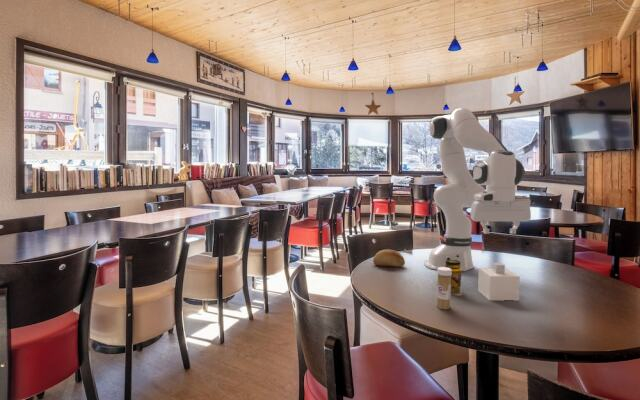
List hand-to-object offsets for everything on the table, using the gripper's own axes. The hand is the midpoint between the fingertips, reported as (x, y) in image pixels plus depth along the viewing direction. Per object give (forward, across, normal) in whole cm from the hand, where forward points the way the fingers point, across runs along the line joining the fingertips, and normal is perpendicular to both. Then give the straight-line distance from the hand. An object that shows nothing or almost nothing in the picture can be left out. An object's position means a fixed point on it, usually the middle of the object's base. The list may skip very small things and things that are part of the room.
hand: (499, 233), depth 134 cm
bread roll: (+23, +34, -39) cm, 57 cm away
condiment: (+23, +16, -4) cm, 29 cm away
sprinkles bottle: (+23, +23, +12) cm, 35 cm away
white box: (+23, 0, 0) cm, 23 cm away
